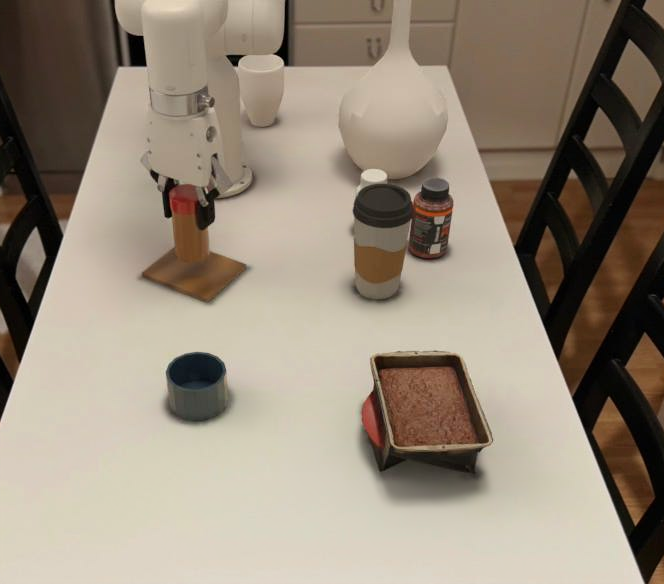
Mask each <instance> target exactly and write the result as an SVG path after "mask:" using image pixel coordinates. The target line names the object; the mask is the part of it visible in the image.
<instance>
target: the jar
mask: <svg viewBox="0 0 664 584" xmlns="http://www.w3.org/2000/svg"><path fill="white" fill-rule="evenodd" d="M205 191H206V190H205ZM169 202H170V208H171V214H172V217H171V224H172V233H173V244H174V247H175V254H176V257H177V259H178V260H180V261H182V262H185V263H198V262H201V261H203V260H205V259H207V258H208V256H209V254H210V251H211V250H210V239H209V226H208V227H207V228H206V229H205V230H203V231H202V230H200V229H199V228H198V219H197V205H198V204H199V203H200V202H199V199H198V196H197V193H196V190H195V187H194V185H191V184H182V185H180V184H178V186H176V187H174V188H172V189H171V190H170V192H169Z"/></svg>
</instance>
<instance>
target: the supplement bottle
mask: <svg viewBox="0 0 664 584" xmlns="http://www.w3.org/2000/svg"><path fill="white" fill-rule="evenodd" d="M412 203H413V217H412V219H411V221H410V227H409V235H408V249H409V250H410V252H411V253H412V254H414V255H415V256H417V257H420V258H424V259H436V258H439V257H441V256H443V255H444V254H446V252H447V250H448V245H449V237H450V232H451V224H452V219H453V218H452V217H453V210H454V203H455V202H454V197H452V195H451V194H450V183H449V181H447V180H446V179H444V178H441V177H428V178H426V179H424V180H423V181H422V183H421V188H420V191H419V192H416V194H415V196H414V198H413V200H412Z"/></svg>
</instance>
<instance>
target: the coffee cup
mask: <svg viewBox="0 0 664 584" xmlns="http://www.w3.org/2000/svg"><path fill="white" fill-rule="evenodd" d="M352 215H353V232H354V234H353V235H354V236H353V266H354V285H355V288H356V289H357V291H358V293H359V294H360V295H361V296H363V297H364V298H367V299H370V300H385V299H389V298H391V297H393V296H394V295H395V294H396V293H397V291H398V289H399V288H400V283H401V275H402V272H403V268H404V264H405V263H404V262H405V258H406V252H407V246H408V242H409V234H410V227H411V219H412V217H413V200H412V197H411V194H410V193H409V191H408V190H406V189H405V188H403V187H401V186H399V185H395V184H392V183H387V184H373V185H369V186H366V187H364V188H363V189H361V190H360V191H359V192H358V196H357V198H356V199H355V198H354V202H353V207H352Z"/></svg>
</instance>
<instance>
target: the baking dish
mask: <svg viewBox="0 0 664 584" xmlns="http://www.w3.org/2000/svg"><path fill="white" fill-rule="evenodd" d="M369 362H370V363H369V364H370V371H371V375H372V379H373V380H372V381H373V387H372V391H370V393H369V394H368V396H367V397H366V398H365V401H364V402H363V405H362V407H361V423H362V425H363V428H364V431H365V433H366V436H367V438H368V442H369V444H370V446H371V449H372V452H373V456H374V459H375V462H376V465H377V468H378V471H379V473H383V472H385V471H387V470H389V469H391V468H394V467H396V466H398V465H400V464H402V463H405V462H406V461H410V462H415V463H418V464H419V463H420V464H424V465H428V466H433V467H437V468H442V469H447V470H451V471H456V472H462V473H469V474H474V475H475V474H477V472H476V465H477V459H478V454H479V453H480V452H482V451H483V449H485V448H487V447H489V446H491V445H492V444H493V442H494V438H493V434H492V431H491V427H490V426H489V423H488V420H487V418H486V415H485V413H484V410H483V408H482V406H481V403H480V400H479V398H478V397H477V394H476V390H475V387H474V384H473V381H472V379H471V377H470V375H469V372H468V367H467V364H466V363H465V360H464V358H463V357H462V356H461V355H460V354H459V353H456V352H450V351H444V350H436V349H435V350H423V351H419V350H407V351H400V350H398V351H397V350H396V351H393V352H392V351H391V352H383V353H375V354H372V356H370V357H369Z"/></svg>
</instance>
